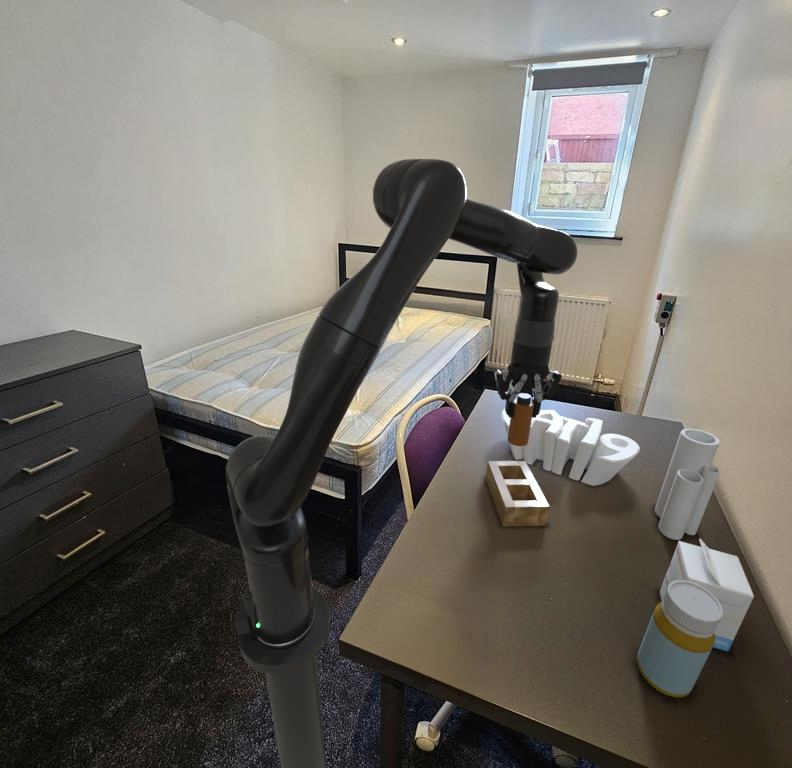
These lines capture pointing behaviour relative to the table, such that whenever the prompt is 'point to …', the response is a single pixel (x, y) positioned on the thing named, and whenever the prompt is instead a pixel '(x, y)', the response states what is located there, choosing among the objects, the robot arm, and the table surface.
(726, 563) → the tissue box
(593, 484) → the white foam letters
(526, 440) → the small bottle
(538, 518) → the hole block
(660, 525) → the vase
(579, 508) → the table surface
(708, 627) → the bottle
